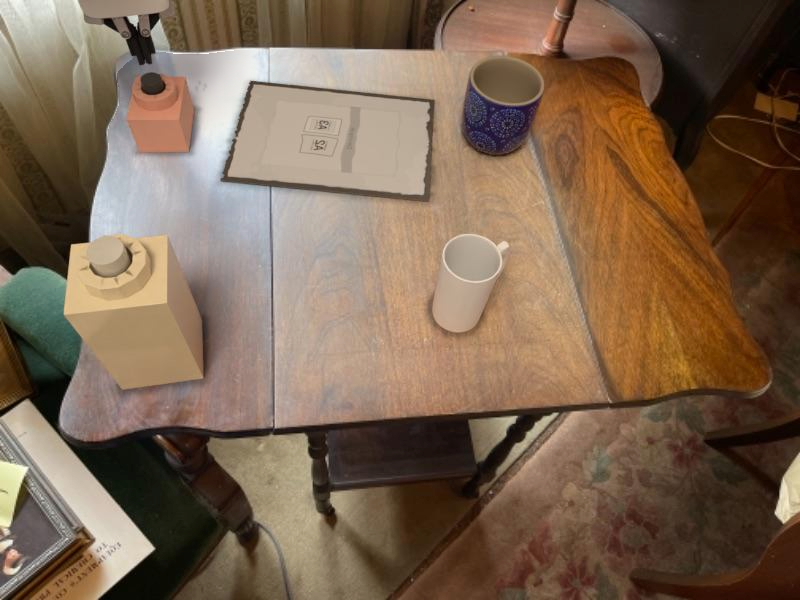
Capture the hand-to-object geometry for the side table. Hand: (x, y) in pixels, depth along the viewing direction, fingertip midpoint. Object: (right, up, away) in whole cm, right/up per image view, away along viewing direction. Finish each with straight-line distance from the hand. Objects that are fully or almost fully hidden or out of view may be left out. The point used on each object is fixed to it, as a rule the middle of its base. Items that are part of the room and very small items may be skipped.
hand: (145, 57), depth 80 cm
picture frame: (+24, -7, +12) cm, 28 cm away
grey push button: (+7, -29, -24) cm, 38 cm away
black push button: (0, -3, +4) cm, 5 cm away
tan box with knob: (+6, -38, -9) cm, 40 cm away
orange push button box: (-1, -7, +10) cm, 13 cm away
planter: (+48, -7, +15) cm, 51 cm away
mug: (+42, -33, -2) cm, 54 cm away
